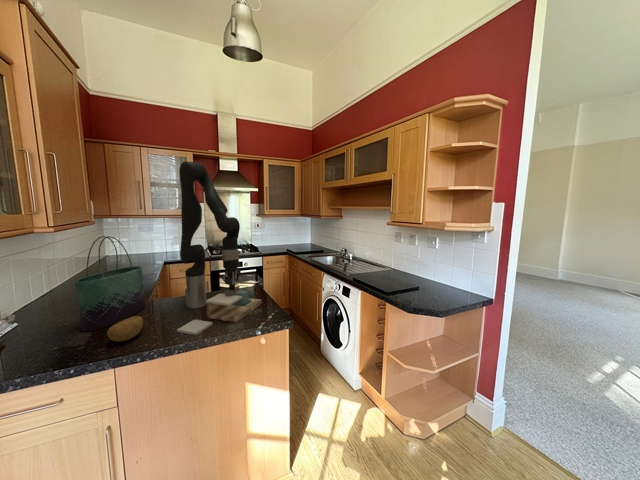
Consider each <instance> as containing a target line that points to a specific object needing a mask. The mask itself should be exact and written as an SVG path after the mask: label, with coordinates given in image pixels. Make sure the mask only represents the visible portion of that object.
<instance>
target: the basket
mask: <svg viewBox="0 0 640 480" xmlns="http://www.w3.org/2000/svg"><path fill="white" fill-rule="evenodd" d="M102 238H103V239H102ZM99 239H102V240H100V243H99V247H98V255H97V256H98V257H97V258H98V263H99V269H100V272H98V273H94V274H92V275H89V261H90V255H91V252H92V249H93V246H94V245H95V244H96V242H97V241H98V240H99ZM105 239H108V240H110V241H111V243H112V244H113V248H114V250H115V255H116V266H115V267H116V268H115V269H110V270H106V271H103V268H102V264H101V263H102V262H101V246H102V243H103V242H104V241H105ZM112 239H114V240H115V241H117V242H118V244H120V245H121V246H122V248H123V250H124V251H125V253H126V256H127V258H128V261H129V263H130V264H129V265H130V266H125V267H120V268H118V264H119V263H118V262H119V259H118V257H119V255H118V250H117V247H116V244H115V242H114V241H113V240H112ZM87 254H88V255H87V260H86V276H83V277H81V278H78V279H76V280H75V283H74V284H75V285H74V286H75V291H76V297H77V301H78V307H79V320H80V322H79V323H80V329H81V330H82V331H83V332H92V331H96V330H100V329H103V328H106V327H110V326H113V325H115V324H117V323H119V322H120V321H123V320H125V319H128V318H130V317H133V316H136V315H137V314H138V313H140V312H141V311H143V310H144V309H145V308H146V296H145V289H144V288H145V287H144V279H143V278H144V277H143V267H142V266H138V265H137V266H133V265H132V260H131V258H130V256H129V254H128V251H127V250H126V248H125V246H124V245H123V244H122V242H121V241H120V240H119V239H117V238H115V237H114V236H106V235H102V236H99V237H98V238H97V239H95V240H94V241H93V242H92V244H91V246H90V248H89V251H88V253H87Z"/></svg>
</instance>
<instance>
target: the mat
mask: <svg viewBox="0 0 640 480" xmlns="http://www.w3.org/2000/svg"><path fill="white" fill-rule="evenodd" d="M212 325H213V321H207V320H206V321H205V320H200V319H193V320H191V321H189V322H188V323H185V325H183V326H180V327H179V328H177V329H176V332H177V333H184V334H187V335H188V334H189V335H194V336H197V335H198V334H200V333H202V332H204V331H205V330H206V329H207V328H210V327H211V326H212Z"/></svg>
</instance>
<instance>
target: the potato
mask: <svg viewBox="0 0 640 480" xmlns="http://www.w3.org/2000/svg"><path fill="white" fill-rule="evenodd" d="M143 326H144V318H143V317H141V316H140V315H133V316H131V317H129V318H127V319H125V320H122V321H120V322H118V323H115V324H113V325H111V327H109V328H108V330H107V336H108V339H109V340H110V341H113V342H118V343H119V342H126V341H129V340H132V339H133V338H135V337H136V336H137V335H138V334H139V333H140V332H141V330H142V328H143Z"/></svg>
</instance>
